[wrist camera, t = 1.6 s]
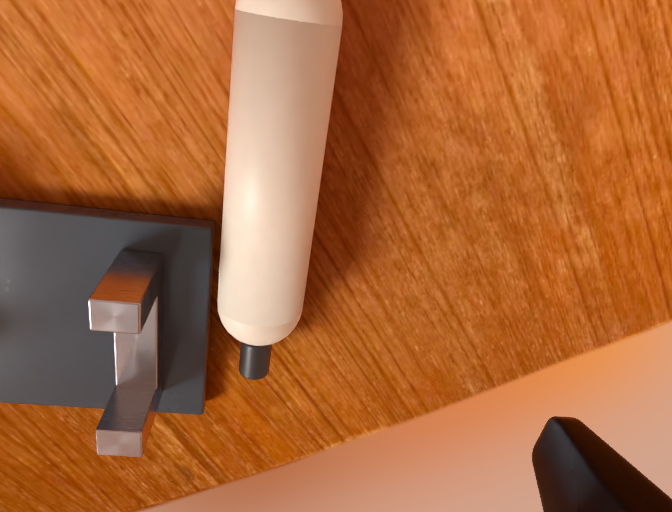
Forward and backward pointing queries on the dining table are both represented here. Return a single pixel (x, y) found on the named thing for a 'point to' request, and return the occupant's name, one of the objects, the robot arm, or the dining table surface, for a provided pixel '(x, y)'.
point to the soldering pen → (274, 166)
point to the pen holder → (105, 314)
